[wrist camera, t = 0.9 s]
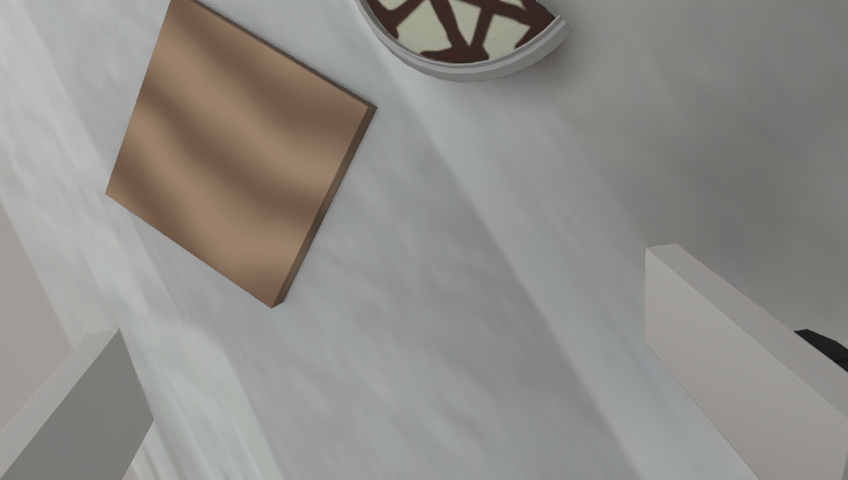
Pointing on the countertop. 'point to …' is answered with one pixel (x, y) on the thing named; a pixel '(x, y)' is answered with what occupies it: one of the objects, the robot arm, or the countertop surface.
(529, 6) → the food container
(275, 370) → the countertop surface
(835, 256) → the countertop surface
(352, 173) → the countertop surface
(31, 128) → the countertop surface
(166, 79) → the walnut board
